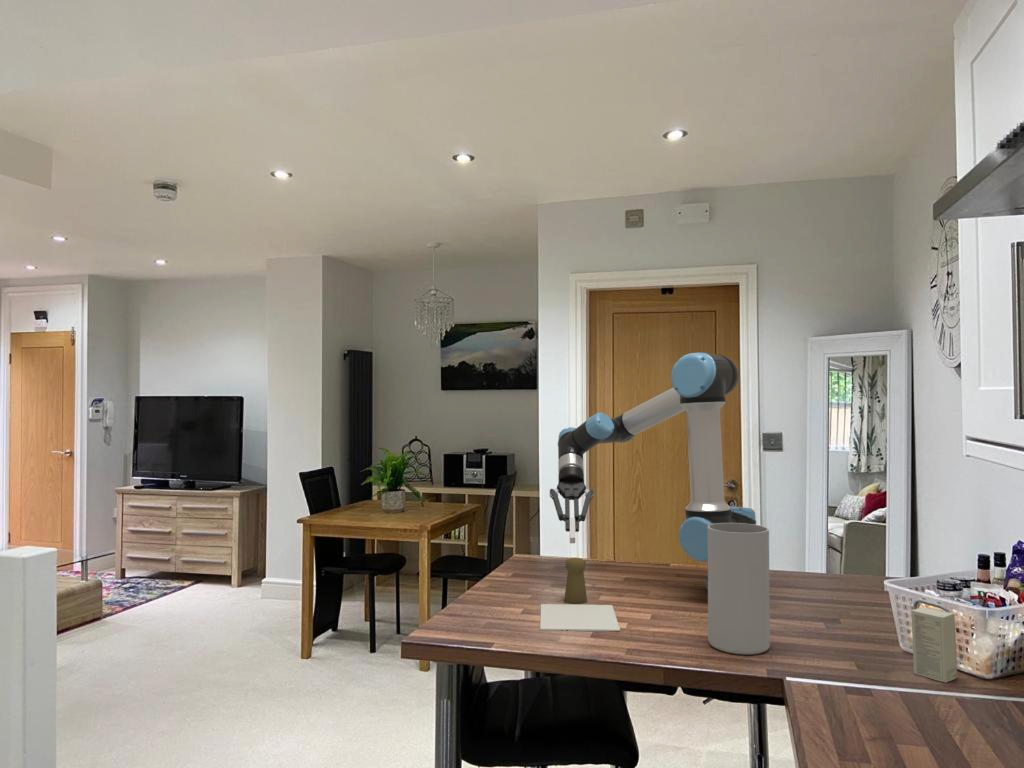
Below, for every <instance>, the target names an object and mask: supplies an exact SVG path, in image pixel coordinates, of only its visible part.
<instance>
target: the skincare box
mask: <svg viewBox="0 0 1024 768" xmlns="http://www.w3.org/2000/svg"><path fill="white" fill-rule="evenodd" d="M910 614H911V629H912V630H911V632H912V633H911V635H912V660H913V663H912V664H913V674H916V675H918V676H921V677H924V678H928V679H930V680H934V681H938V682H941V683H949V682H952V681H953V680H956V679H957V678H958V667H957V665H958V664H957V643H956V639H957V638H956V621H955V619H956V617H955V613H954V612H950V611H944V610H941V609H935V608H929V607H927V606H926V607H925V606H922V607H921V606H920V607H918V608H914V609H911V613H910Z"/></svg>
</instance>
